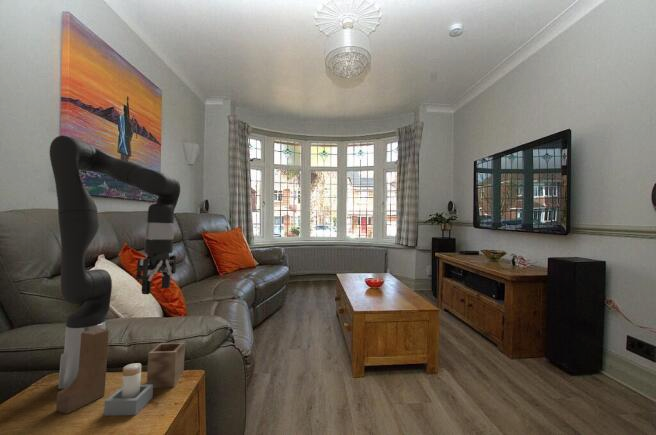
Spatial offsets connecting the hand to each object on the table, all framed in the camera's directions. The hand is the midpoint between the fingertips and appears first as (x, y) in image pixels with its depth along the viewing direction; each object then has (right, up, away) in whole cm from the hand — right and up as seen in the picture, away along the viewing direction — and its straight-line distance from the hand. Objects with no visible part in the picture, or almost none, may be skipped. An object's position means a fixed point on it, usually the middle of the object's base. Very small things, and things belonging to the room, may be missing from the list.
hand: (156, 291), depth 87 cm
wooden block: (-13, -27, -12) cm, 32 cm away
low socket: (+1, -27, -12) cm, 30 cm away
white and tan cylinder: (+1, -26, -12) cm, 29 cm away
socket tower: (+3, -28, 0) cm, 28 cm away
